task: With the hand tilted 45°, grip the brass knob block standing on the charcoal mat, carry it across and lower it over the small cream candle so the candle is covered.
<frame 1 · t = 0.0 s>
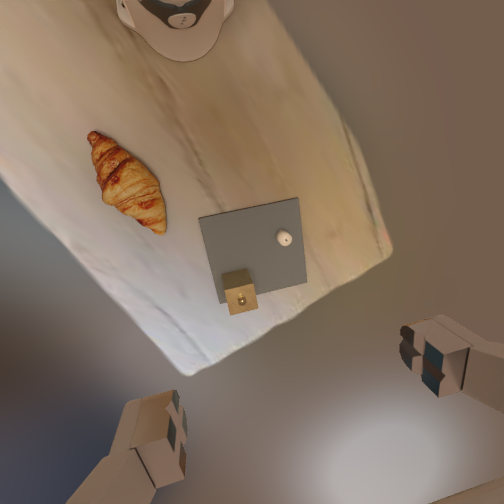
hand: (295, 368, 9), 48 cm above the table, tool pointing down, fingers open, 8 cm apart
brass knob block: (236, 282, 60), point 1 cm above the table, touching charcoal mat
croissant: (132, 187, 50), on the table
charcoal mat: (256, 252, 59), on the table
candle: (281, 235, 58), resting on charcoal mat
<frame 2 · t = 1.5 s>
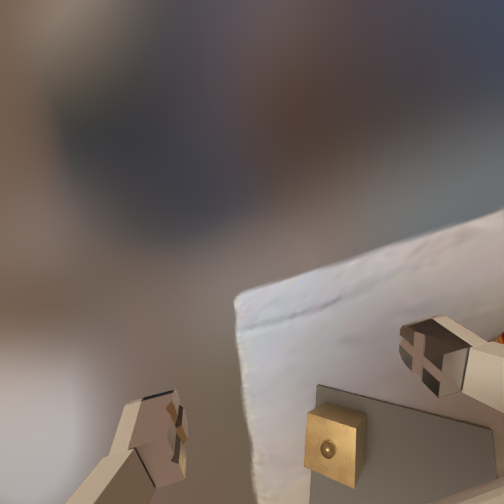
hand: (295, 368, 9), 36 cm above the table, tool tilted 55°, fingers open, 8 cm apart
brass knob block: (344, 430, 38), point 1 cm above the table, touching charcoal mat
charcoal mat: (391, 496, 34), on the table
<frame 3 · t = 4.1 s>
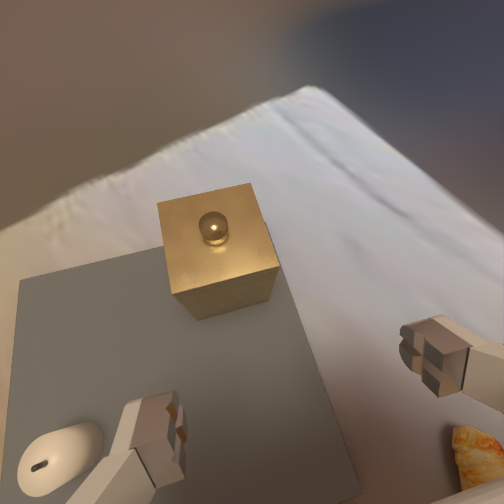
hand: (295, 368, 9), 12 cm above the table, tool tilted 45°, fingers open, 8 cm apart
brass knob block: (225, 277, 22), point 1 cm above the table, touching charcoal mat
charcoal mat: (169, 371, 20), on the table
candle: (82, 446, 17), resting on charcoal mat
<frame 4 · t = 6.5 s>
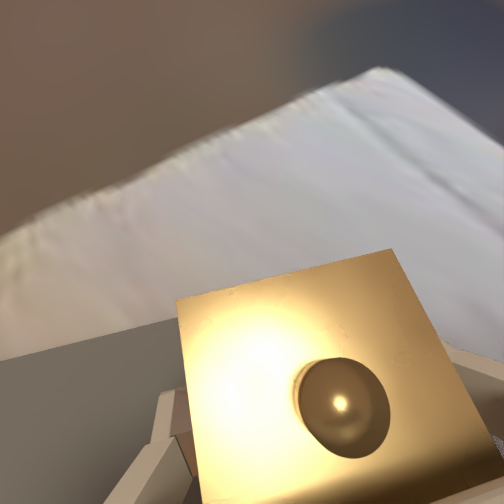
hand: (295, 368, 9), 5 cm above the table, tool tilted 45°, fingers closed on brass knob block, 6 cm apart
brass knob block: (284, 381, 13), point 1 cm above the table, touching charcoal mat, gripper
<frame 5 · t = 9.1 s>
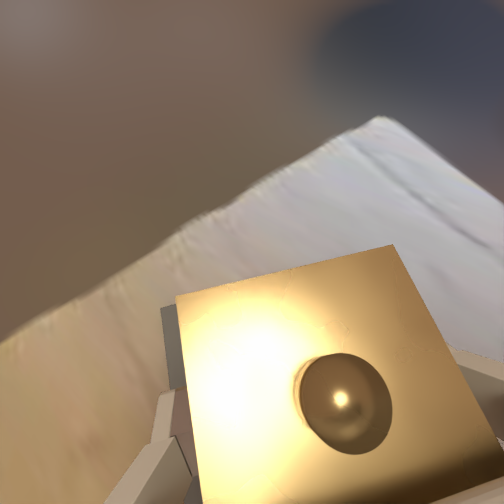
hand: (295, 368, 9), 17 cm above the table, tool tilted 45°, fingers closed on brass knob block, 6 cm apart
brass knob block: (285, 379, 13), point 13 cm above the table, touching gripper
charcoal mat: (292, 386, 24), on the table
when the fingers open (7 cm above the table, at t = 11.8 s): brass knob block drops 2 cm, resting on charcoal mat.
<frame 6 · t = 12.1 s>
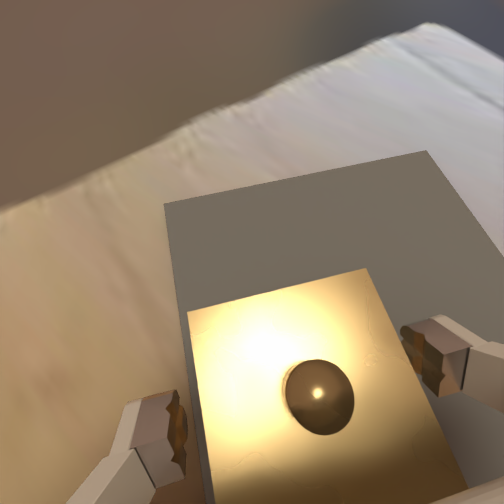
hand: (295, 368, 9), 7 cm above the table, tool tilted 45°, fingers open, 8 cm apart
brass knob block: (280, 380, 14), point 1 cm above the table, touching charcoal mat
charcoal mat: (353, 305, 17), on the table
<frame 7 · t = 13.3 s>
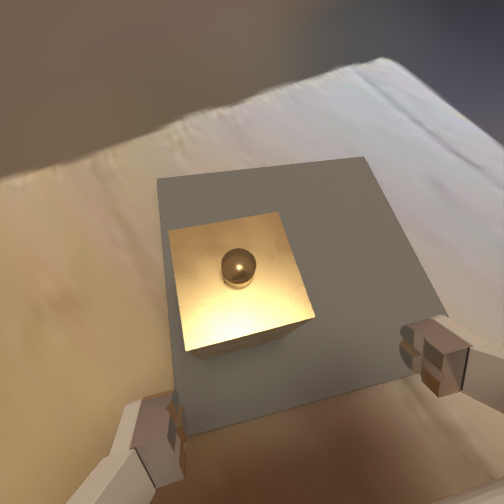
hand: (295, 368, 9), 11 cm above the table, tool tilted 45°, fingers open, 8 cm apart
brass knob block: (234, 308, 20), point 1 cm above the table, touching charcoal mat
charcoal mat: (294, 262, 23), on the table
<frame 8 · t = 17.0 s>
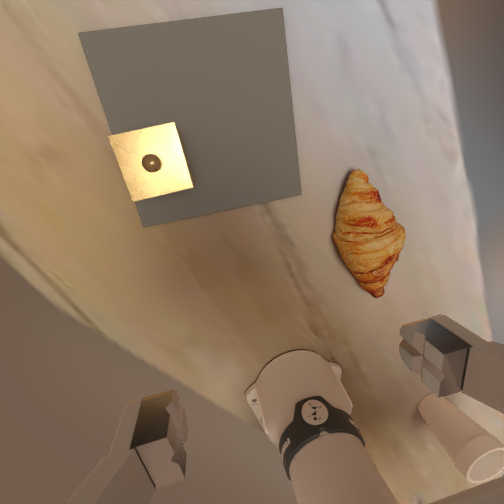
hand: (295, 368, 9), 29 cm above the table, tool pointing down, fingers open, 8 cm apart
foam cup: (429, 403, 59), on the table
brass knob block: (164, 162, 32), point 1 cm above the table, touching charcoal mat
croissant: (360, 233, 41), on the table
charcoal mat: (207, 127, 32), on the table
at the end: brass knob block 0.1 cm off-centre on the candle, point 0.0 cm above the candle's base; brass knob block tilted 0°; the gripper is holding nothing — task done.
